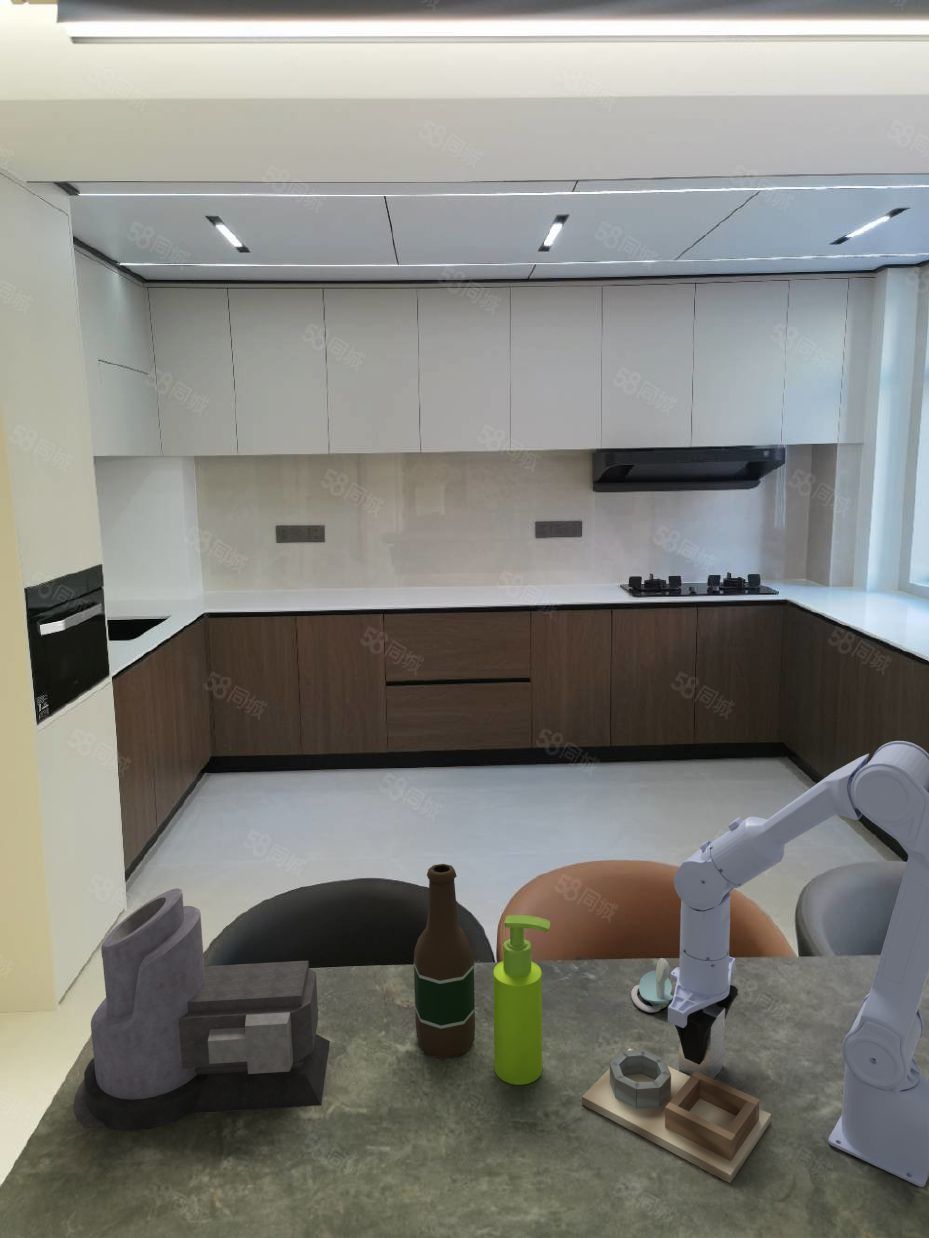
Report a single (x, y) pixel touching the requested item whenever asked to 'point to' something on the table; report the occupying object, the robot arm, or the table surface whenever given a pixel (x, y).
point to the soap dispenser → (518, 1005)
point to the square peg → (709, 1046)
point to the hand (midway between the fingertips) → (701, 1050)
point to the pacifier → (654, 988)
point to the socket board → (680, 1111)
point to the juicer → (195, 1028)
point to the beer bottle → (443, 973)
